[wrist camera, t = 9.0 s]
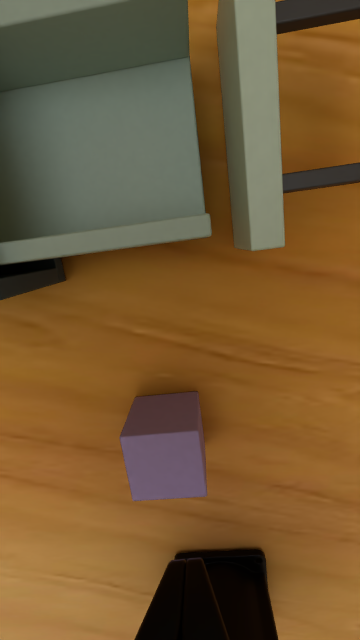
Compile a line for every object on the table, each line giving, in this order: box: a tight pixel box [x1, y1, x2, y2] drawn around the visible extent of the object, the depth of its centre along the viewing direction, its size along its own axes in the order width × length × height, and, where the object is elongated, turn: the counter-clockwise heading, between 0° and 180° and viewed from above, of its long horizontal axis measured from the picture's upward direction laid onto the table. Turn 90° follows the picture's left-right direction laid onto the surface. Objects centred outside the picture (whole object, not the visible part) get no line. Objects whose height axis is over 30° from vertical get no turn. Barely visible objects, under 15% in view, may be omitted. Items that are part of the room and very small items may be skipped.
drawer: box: [0, 0, 360, 266], centre depth 12 cm, size 18×9×5 cm, turn 97°
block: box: [120, 391, 207, 501], centre depth 17 cm, size 4×4×4 cm
